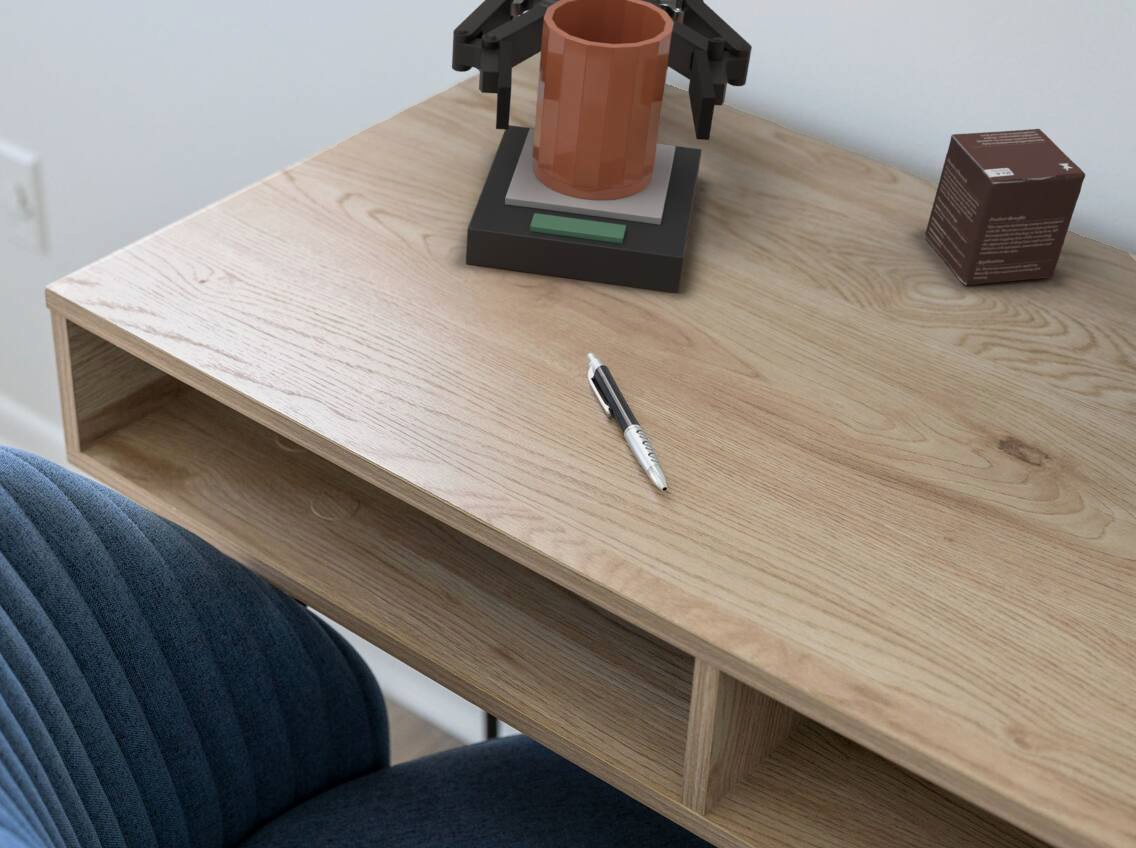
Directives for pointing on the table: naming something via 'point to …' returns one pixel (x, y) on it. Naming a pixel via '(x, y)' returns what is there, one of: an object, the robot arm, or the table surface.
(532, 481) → the table surface
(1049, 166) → the box
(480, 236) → the scale
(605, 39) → the cup
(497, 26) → the robot arm
